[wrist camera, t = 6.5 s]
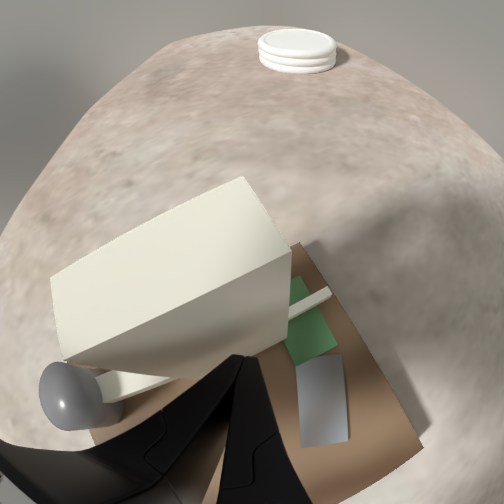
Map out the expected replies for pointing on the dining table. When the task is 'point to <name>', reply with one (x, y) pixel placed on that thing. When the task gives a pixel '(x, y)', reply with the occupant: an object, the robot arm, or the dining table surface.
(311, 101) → the dining table surface
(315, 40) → the coaster
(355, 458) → the brown flat panel
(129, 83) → the dining table surface
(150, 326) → the lever
